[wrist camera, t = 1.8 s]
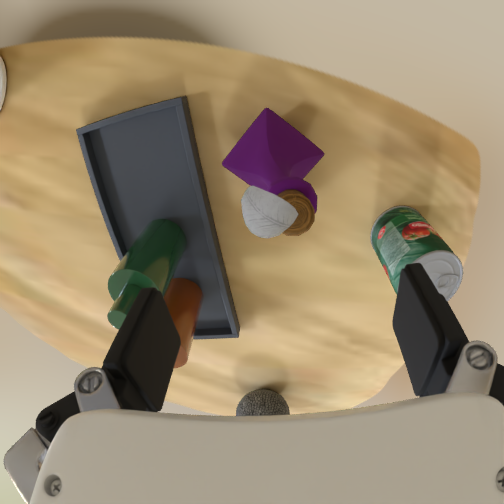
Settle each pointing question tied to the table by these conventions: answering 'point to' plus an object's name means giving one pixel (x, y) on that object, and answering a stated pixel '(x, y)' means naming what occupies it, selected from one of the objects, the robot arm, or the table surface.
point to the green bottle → (146, 266)
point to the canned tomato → (415, 249)
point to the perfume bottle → (275, 176)
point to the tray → (160, 197)
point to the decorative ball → (262, 404)
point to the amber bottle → (184, 313)
